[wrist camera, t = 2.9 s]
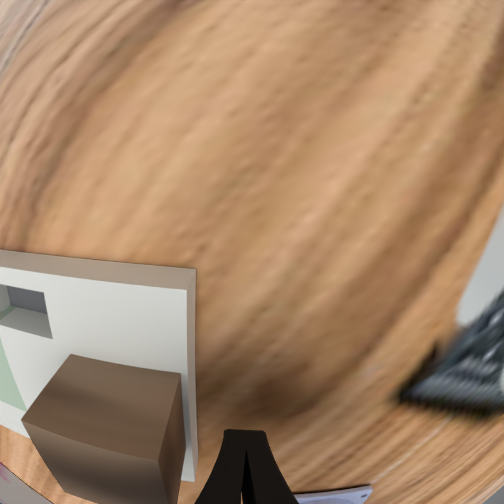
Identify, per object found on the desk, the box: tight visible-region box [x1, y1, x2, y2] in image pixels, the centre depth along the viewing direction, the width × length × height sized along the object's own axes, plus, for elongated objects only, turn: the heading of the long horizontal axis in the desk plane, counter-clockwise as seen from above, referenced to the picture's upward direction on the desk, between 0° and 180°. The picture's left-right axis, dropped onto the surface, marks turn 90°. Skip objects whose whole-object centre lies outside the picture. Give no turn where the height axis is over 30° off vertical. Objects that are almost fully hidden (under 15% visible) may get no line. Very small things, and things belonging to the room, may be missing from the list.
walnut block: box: [21, 354, 186, 504], centre depth 9 cm, size 4×4×4 cm
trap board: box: [0, 249, 198, 482], centre depth 11 cm, size 11×13×2 cm
